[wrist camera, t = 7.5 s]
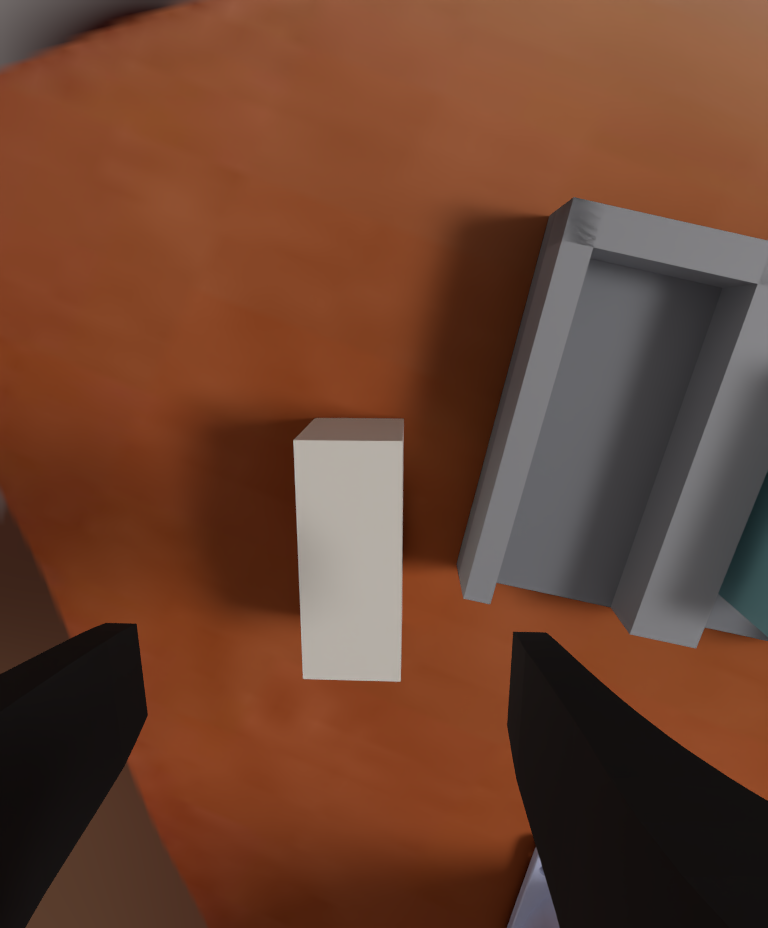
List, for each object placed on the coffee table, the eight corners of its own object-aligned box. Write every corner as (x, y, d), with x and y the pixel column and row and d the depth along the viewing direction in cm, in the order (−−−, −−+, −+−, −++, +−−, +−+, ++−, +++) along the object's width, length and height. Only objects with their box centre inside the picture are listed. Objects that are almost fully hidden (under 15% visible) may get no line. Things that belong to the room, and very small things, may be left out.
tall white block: (401, 616, 19) (400, 681, 16) (321, 615, 19) (303, 679, 16) (403, 417, 18) (402, 441, 14) (315, 417, 18) (293, 439, 14)
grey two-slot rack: (804, 638, 19) (860, 683, 16) (456, 564, 19) (463, 598, 16) (956, 306, 16) (1049, 303, 14) (549, 215, 16) (573, 197, 14)
